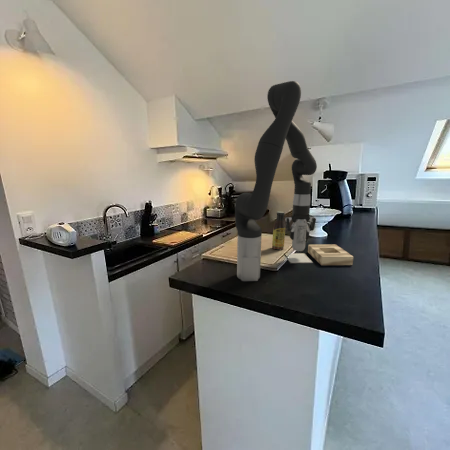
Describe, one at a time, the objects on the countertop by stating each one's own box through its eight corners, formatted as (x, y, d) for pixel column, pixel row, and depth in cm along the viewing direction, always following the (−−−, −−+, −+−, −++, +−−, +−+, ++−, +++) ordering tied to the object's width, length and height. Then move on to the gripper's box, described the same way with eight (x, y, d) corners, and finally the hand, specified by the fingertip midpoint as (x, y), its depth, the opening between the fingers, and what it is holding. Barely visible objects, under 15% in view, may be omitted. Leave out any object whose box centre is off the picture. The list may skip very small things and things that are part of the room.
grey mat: (312, 262, 118) (312, 262, 118) (290, 263, 118) (290, 262, 118) (303, 254, 130) (304, 253, 130) (284, 254, 130) (284, 253, 130)
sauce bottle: (275, 251, 135) (276, 213, 130) (269, 247, 141) (271, 211, 136) (286, 249, 136) (288, 212, 132) (280, 246, 142) (282, 210, 138)
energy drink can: (301, 247, 126) (303, 217, 123) (307, 251, 121) (309, 219, 117) (289, 247, 126) (291, 217, 122) (294, 251, 120) (296, 220, 116)
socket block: (352, 265, 116) (353, 256, 115) (321, 265, 116) (322, 256, 115) (334, 251, 133) (335, 244, 133) (307, 252, 133) (308, 244, 132)
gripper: (287, 205, 114) (285, 241, 118) (320, 205, 115) (317, 241, 118) (283, 202, 122) (282, 237, 125) (314, 202, 122) (311, 236, 126)
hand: (299, 239), depth 122 cm, fingers closed on energy drink can, 6 cm apart
